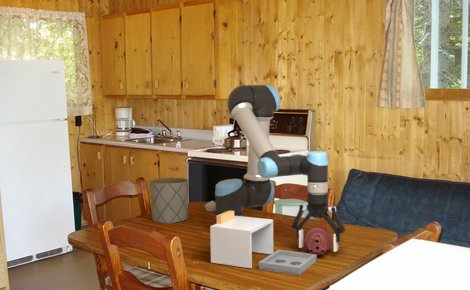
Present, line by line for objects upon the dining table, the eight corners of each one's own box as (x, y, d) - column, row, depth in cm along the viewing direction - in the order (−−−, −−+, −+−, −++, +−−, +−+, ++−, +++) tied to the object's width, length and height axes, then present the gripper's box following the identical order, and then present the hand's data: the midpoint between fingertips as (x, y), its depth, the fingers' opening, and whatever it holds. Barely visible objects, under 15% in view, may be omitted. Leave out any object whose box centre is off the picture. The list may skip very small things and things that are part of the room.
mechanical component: (330, 261, 195) (330, 235, 194) (303, 260, 197) (302, 234, 196) (331, 249, 207) (331, 224, 206) (305, 248, 209) (305, 223, 208)
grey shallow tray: (258, 269, 186) (258, 262, 186) (278, 256, 201) (278, 249, 201) (299, 275, 179) (299, 267, 179) (316, 261, 194) (316, 254, 194)
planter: (169, 215, 276) (168, 176, 275) (197, 219, 265) (196, 179, 263) (142, 222, 261) (141, 181, 259) (171, 227, 250) (170, 184, 248)
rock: (231, 216, 270) (231, 198, 270) (199, 212, 281) (199, 194, 281) (250, 210, 286) (250, 192, 285) (219, 206, 297) (218, 189, 296)
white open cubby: (210, 262, 194) (210, 218, 192) (235, 249, 210) (235, 208, 209) (250, 268, 186) (250, 222, 185) (273, 253, 203) (272, 211, 202)
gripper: (282, 192, 203) (283, 247, 205) (347, 196, 191) (348, 255, 193) (290, 189, 210) (291, 243, 211) (353, 193, 198) (353, 249, 199)
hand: (318, 248), depth 202 cm, fingers open, 13 cm apart
